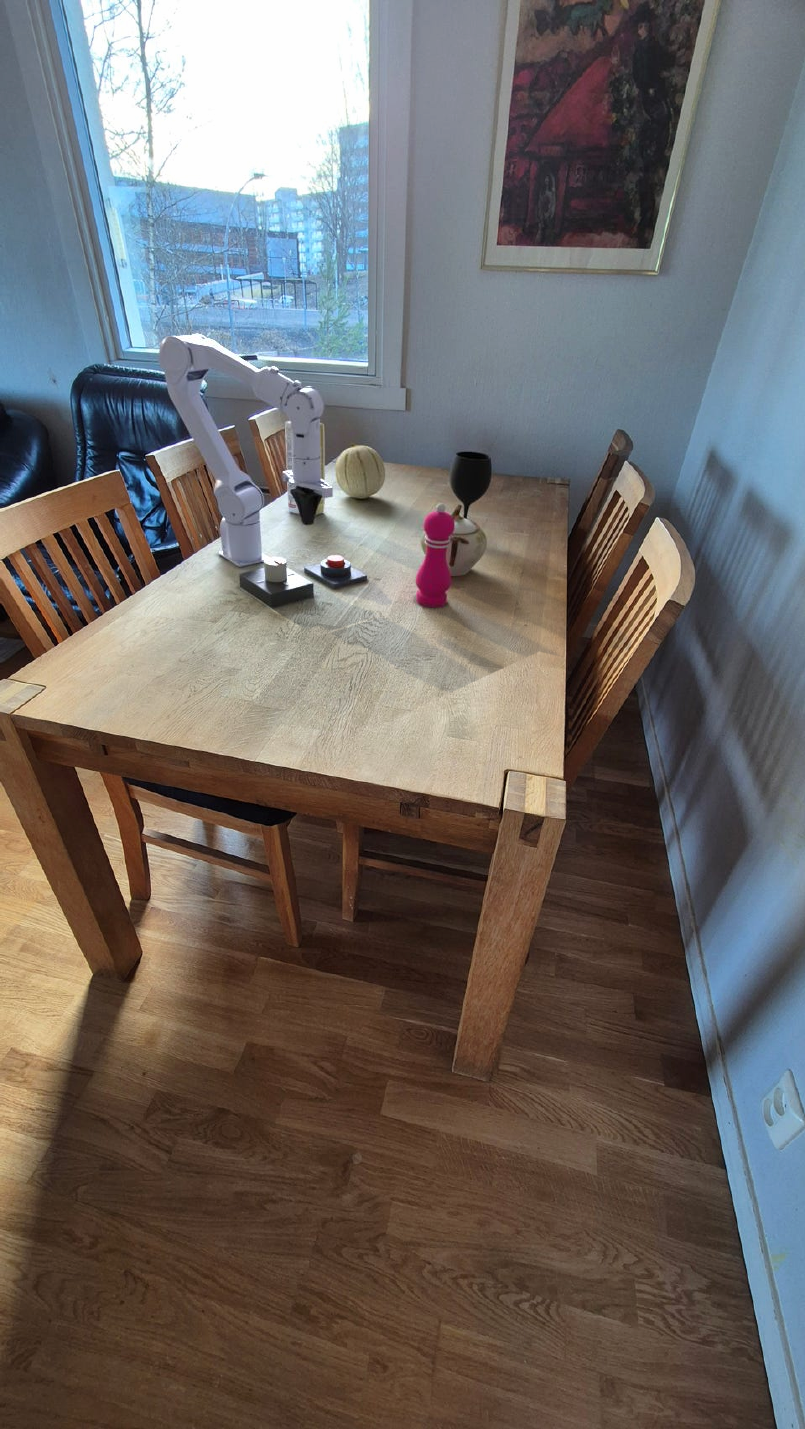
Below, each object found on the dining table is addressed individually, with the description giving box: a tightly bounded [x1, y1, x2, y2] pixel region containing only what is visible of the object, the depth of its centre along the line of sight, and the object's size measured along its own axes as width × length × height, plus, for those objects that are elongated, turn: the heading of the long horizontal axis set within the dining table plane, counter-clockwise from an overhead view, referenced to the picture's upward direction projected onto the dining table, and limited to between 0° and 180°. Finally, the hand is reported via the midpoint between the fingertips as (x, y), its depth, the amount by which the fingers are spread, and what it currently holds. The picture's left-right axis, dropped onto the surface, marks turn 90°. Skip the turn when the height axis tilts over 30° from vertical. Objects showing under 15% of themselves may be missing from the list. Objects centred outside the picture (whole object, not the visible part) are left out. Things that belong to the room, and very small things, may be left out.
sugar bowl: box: [420, 503, 488, 577], centre depth 139 cm, size 20×15×15 cm
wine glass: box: [449, 450, 493, 519], centre depth 157 cm, size 10×10×20 cm
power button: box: [326, 554, 345, 567], centre depth 133 cm, size 4×4×2 cm
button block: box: [303, 558, 368, 590], centre depth 134 cm, size 11×9×3 cm
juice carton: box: [284, 420, 326, 516], centre depth 163 cm, size 9×8×24 cm
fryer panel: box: [238, 567, 315, 609], centre depth 125 cm, size 12×10×3 cm
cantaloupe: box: [334, 442, 386, 500], centre depth 180 cm, size 15×15×15 cm
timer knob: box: [263, 556, 288, 582], centre depth 123 cm, size 4×4×4 cm
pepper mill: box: [415, 503, 455, 608], centre depth 122 cm, size 7×7×20 cm
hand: (308, 523), depth 131 cm, fingers closed
